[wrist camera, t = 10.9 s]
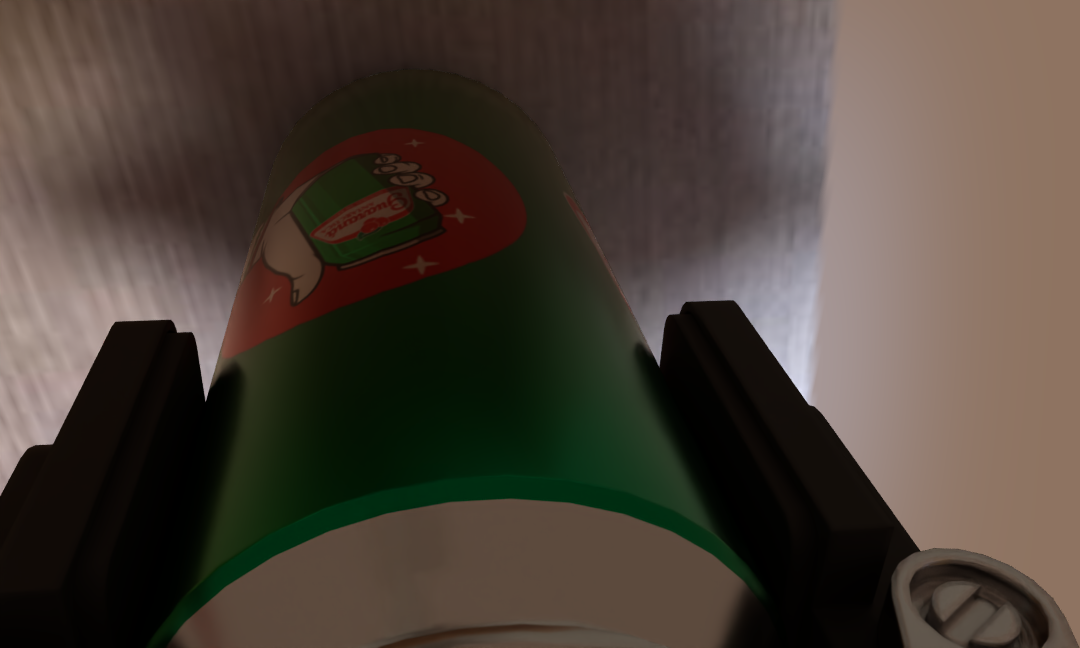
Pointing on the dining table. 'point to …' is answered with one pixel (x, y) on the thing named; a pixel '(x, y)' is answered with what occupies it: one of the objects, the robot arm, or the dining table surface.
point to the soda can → (442, 412)
